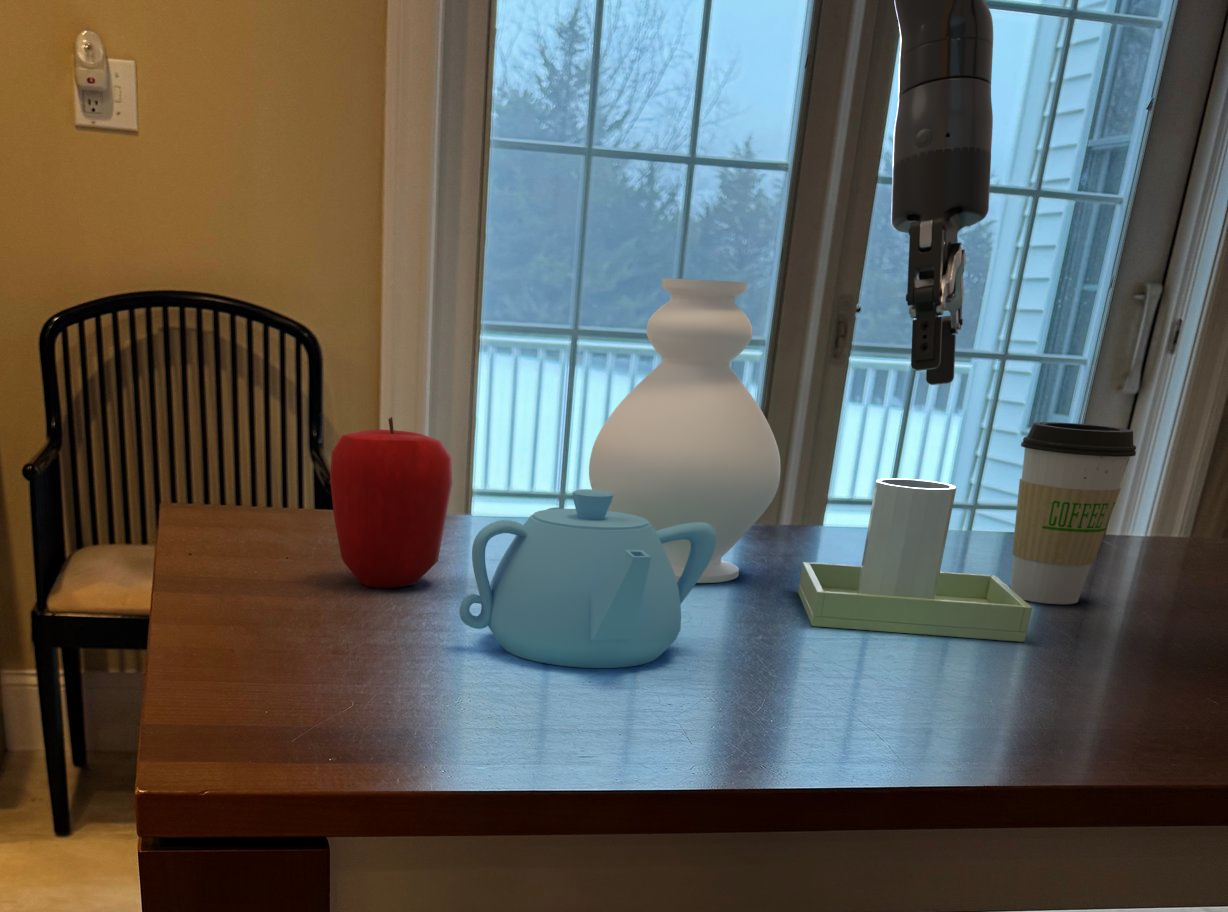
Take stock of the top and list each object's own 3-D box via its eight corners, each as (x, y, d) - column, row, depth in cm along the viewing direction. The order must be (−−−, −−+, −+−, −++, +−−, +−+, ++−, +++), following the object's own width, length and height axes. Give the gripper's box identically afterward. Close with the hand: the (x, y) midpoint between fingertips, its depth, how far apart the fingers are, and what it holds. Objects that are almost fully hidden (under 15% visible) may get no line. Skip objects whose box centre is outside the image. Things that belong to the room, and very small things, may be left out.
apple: (459, 595, 120) (467, 424, 114) (341, 595, 117) (342, 421, 111) (433, 571, 129) (438, 412, 123) (322, 570, 126) (322, 408, 120)
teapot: (718, 641, 109) (737, 489, 103) (633, 688, 95) (650, 516, 90) (541, 613, 115) (550, 468, 110) (437, 653, 101) (442, 490, 96)
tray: (989, 607, 127) (996, 575, 125) (1024, 642, 114) (1032, 607, 113) (797, 593, 128) (802, 561, 127) (811, 626, 116) (817, 591, 114)
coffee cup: (1088, 613, 126) (1131, 435, 119) (978, 597, 131) (1014, 424, 124) (1107, 597, 134) (1149, 429, 127) (1003, 582, 138) (1038, 419, 131)
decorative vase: (796, 589, 130) (841, 287, 118) (614, 588, 125) (643, 276, 114) (723, 554, 145) (757, 284, 133) (559, 553, 141) (579, 274, 129)
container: (925, 601, 123) (948, 481, 119) (937, 616, 118) (962, 491, 113) (852, 595, 124) (872, 476, 119) (860, 610, 118) (882, 486, 114)
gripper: (981, 123, 104) (970, 359, 108) (999, 173, 116) (989, 383, 121) (878, 141, 107) (871, 370, 111) (906, 188, 119) (899, 392, 124)
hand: (932, 376), depth 116 cm, fingers open, 8 cm apart
